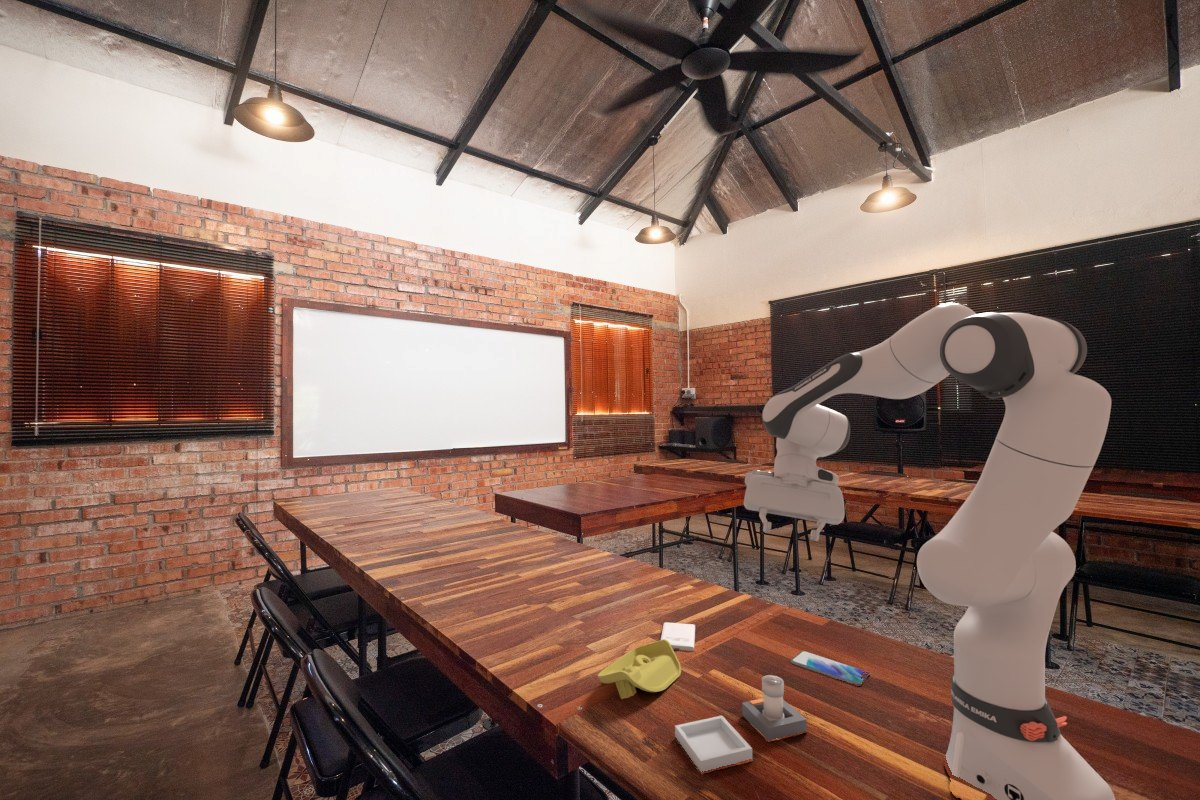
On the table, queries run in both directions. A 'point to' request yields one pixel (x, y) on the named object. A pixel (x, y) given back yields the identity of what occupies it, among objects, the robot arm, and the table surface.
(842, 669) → the smartphone
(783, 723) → the block
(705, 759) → the tray
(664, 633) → the external hard drive
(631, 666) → the plastic component
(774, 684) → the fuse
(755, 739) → the table surface
